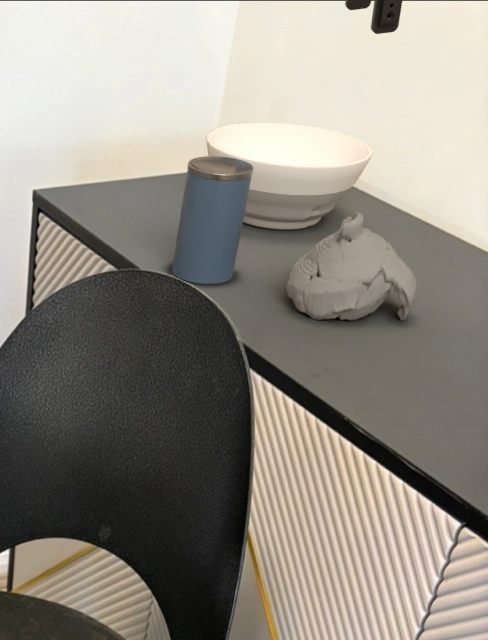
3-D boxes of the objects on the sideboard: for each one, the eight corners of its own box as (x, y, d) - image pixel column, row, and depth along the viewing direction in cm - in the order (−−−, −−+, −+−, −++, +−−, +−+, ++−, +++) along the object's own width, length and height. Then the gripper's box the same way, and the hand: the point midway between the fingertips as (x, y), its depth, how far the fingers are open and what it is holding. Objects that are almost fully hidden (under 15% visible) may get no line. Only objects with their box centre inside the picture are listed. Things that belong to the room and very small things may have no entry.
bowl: (337, 253, 128) (356, 176, 122) (174, 225, 134) (186, 151, 128) (366, 207, 141) (385, 136, 135) (217, 183, 147) (229, 114, 142)
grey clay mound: (331, 360, 111) (332, 259, 104) (267, 316, 120) (263, 220, 112) (436, 313, 112) (443, 210, 105) (365, 273, 121) (367, 174, 113)
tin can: (209, 259, 125) (227, 153, 118) (245, 279, 121) (267, 170, 114) (159, 267, 123) (175, 159, 116) (194, 287, 119) (213, 177, 111)
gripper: (480, -207, 84) (437, 35, 96) (421, -226, 94) (389, -5, 106) (380, -193, 85) (349, 46, 96) (332, -213, 95) (309, 5, 106)
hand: (370, 19), depth 101 cm, fingers open, 8 cm apart
